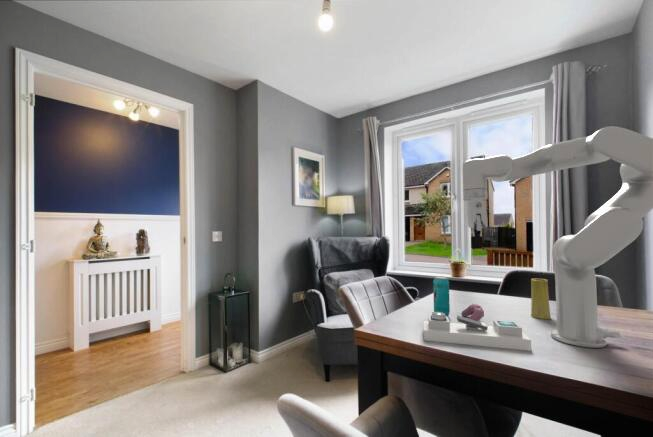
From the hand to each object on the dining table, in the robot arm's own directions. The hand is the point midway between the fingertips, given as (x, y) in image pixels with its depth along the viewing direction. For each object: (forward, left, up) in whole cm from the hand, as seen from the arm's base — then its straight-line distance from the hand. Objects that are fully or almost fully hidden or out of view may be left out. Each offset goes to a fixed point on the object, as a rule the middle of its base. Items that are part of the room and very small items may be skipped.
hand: (476, 248), depth 101 cm
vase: (-25, -21, -27) cm, 43 cm away
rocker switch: (+4, +12, -22) cm, 25 cm away
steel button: (+13, +12, -23) cm, 29 cm away
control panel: (+4, +12, -27) cm, 30 cm away
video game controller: (0, -10, -27) cm, 29 cm away
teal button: (-5, +12, -24) cm, 27 cm away
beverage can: (+11, -12, -27) cm, 32 cm away
